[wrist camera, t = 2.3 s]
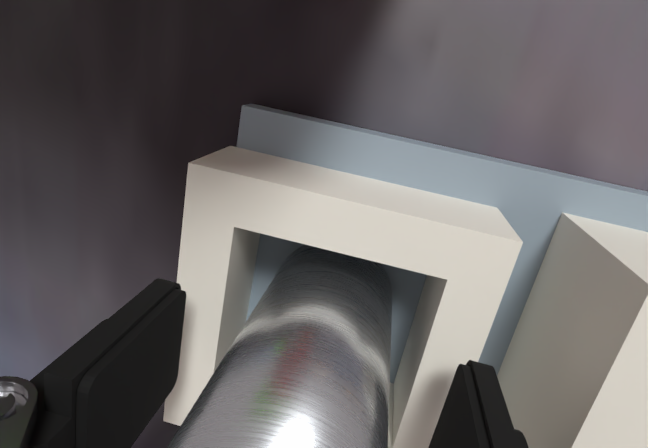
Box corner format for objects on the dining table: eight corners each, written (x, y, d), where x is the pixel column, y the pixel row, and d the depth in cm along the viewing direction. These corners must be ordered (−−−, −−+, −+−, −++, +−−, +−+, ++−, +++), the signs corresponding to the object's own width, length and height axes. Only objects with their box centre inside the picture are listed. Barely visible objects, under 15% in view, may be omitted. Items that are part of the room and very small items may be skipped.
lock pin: (406, 255, 14) (417, 592, 5) (376, 358, 16) (342, 776, 6) (285, 226, 15) (85, 488, 5) (267, 329, 16) (80, 685, 7)
